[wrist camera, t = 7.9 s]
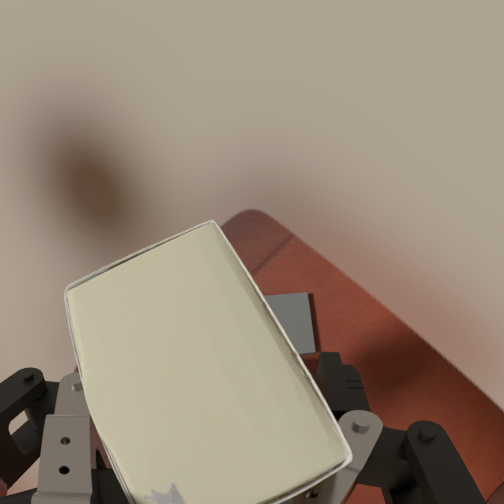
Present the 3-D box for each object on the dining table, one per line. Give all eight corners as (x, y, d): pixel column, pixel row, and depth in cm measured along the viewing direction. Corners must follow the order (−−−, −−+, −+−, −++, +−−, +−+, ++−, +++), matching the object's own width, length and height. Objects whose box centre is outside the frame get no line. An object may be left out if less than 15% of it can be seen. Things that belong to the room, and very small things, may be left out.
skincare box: (304, 437, 15) (374, 471, 4) (233, 471, 14) (155, 557, 3) (251, 342, 18) (216, 206, 7) (183, 373, 17) (55, 283, 6)
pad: (314, 353, 27) (315, 352, 27) (249, 359, 27) (248, 357, 27) (306, 294, 30) (307, 292, 30) (245, 299, 30) (245, 297, 30)
